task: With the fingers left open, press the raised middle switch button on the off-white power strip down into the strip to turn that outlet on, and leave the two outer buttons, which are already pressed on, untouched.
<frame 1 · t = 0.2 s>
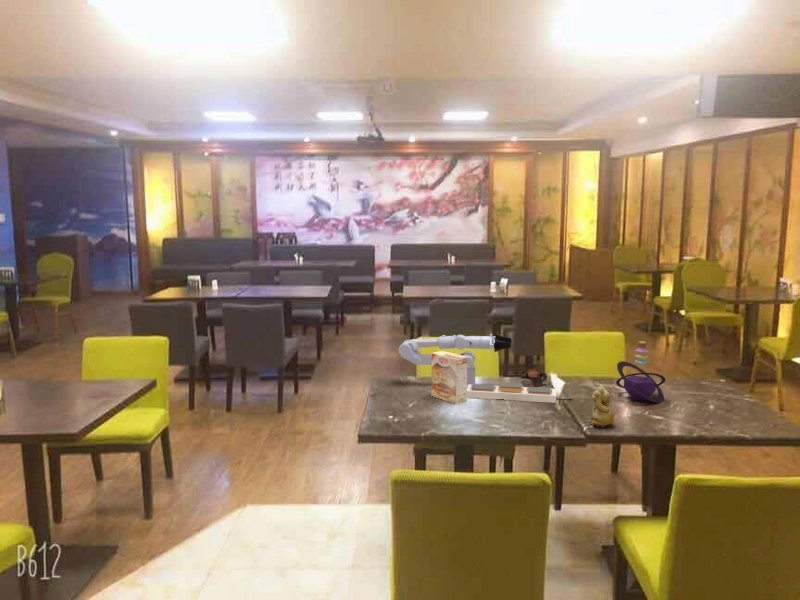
hand: (511, 342, 286), 21 cm above the table, tool horizontal, fingers open, 7 cm apart
brown grey irregular piece: (533, 384, 297), on the table
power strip: (510, 396, 277), on the table
left button: (483, 388, 279), point 3 cm above the table, slide at 1.5 cm
middle button: (510, 387, 277), point 4 cm above the table, slide at 0.0 cm
decorative bottle: (639, 399, 274), on the table
decorative figurine: (602, 425, 242), on the table
coffeecake box: (448, 399, 275), on the table
right button: (539, 391, 275), point 3 cm above the table, slide at 1.5 cm
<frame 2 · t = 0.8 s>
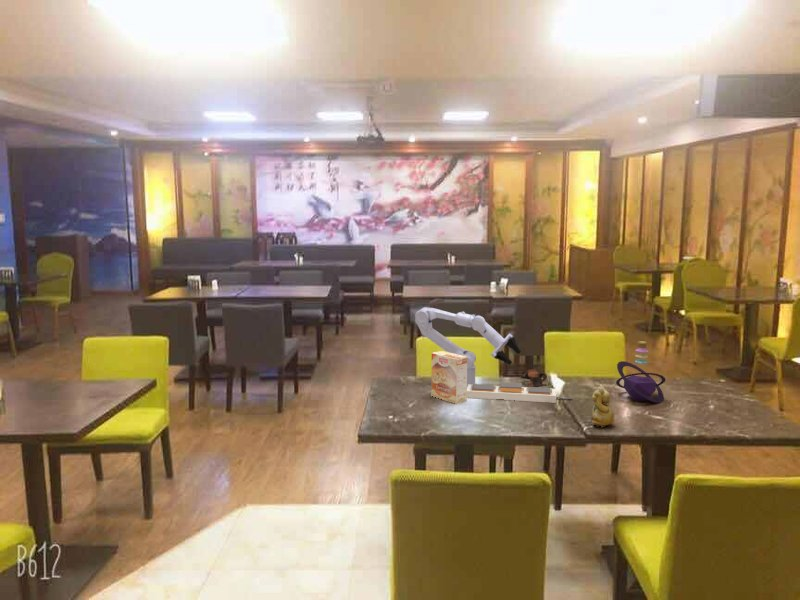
hand: (515, 358, 285), 15 cm above the table, tool tilted 50°, fingers open, 7 cm apart
nothing on the table moved.
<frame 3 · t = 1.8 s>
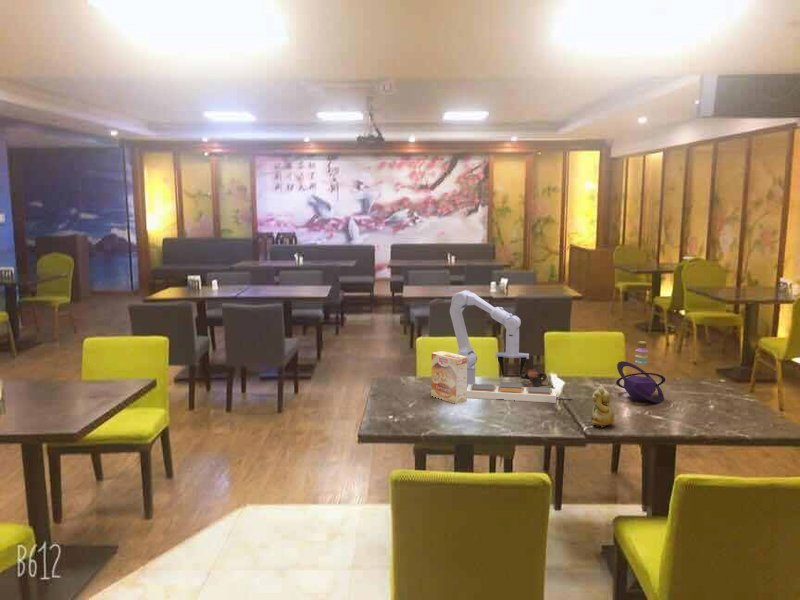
hand: (511, 373, 283), 8 cm above the table, tool pointing down, fingers open, 7 cm apart
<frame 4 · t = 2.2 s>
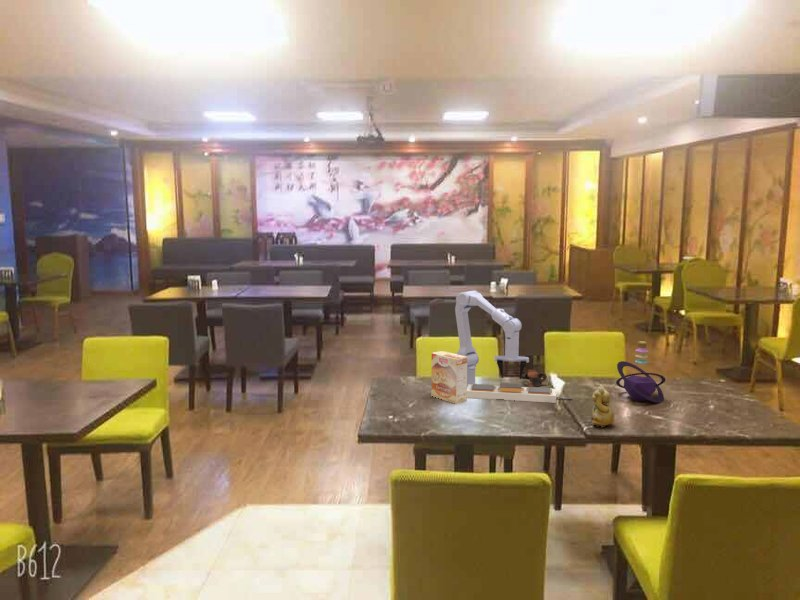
hand: (511, 377, 276), 8 cm above the table, tool pointing down, fingers open, 7 cm apart
nothing on the table moved.
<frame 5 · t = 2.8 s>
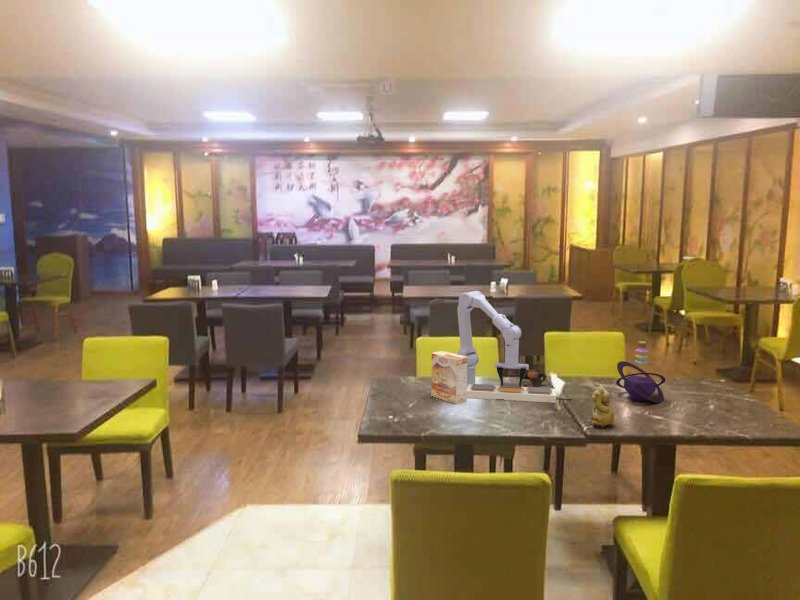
hand: (511, 384, 277), 5 cm above the table, tool pointing down
middle button: (510, 387, 277), point 4 cm above the table, slide at 0.0 cm, touching gripper
everything else where it was.
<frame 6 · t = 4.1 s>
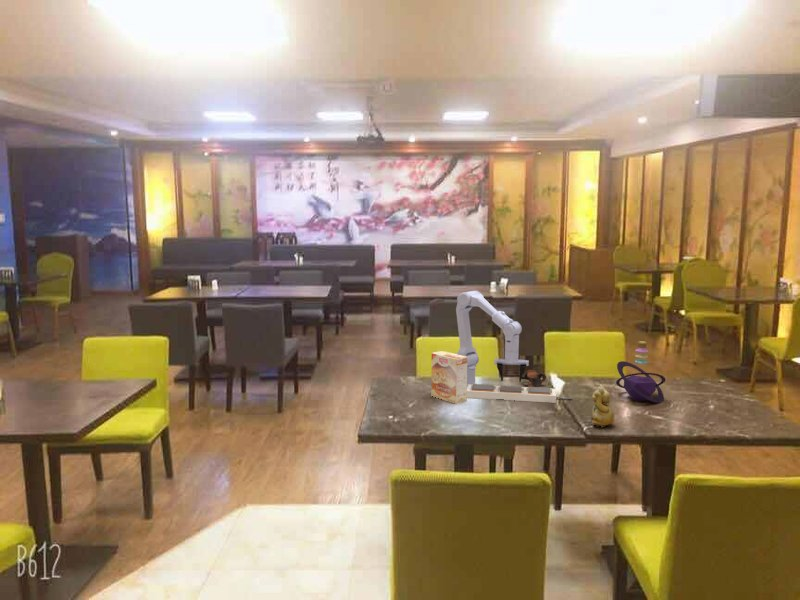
hand: (511, 380, 276), 7 cm above the table, tool pointing down, fingers open, 7 cm apart
middle button: (510, 390, 277), point 3 cm above the table, slide at 1.6 cm
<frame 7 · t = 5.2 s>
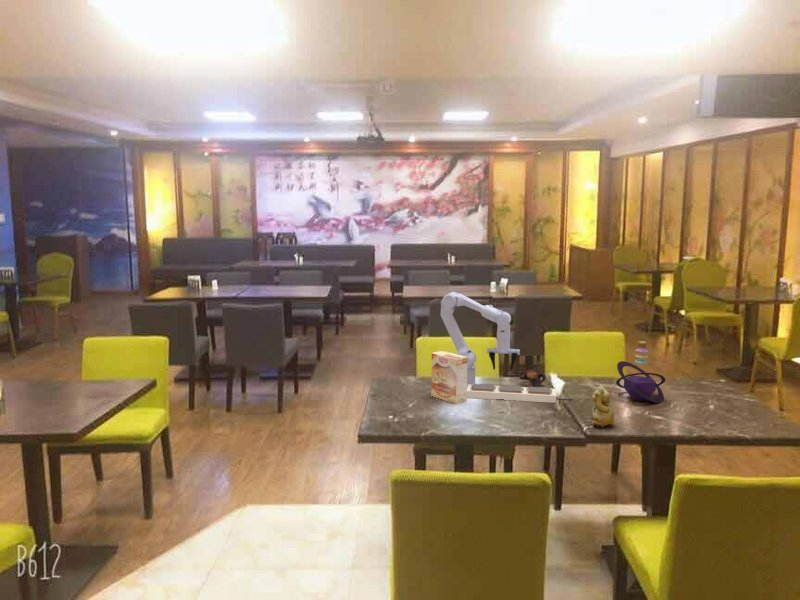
hand: (502, 369, 287), 9 cm above the table, tool pointing down, fingers open, 7 cm apart
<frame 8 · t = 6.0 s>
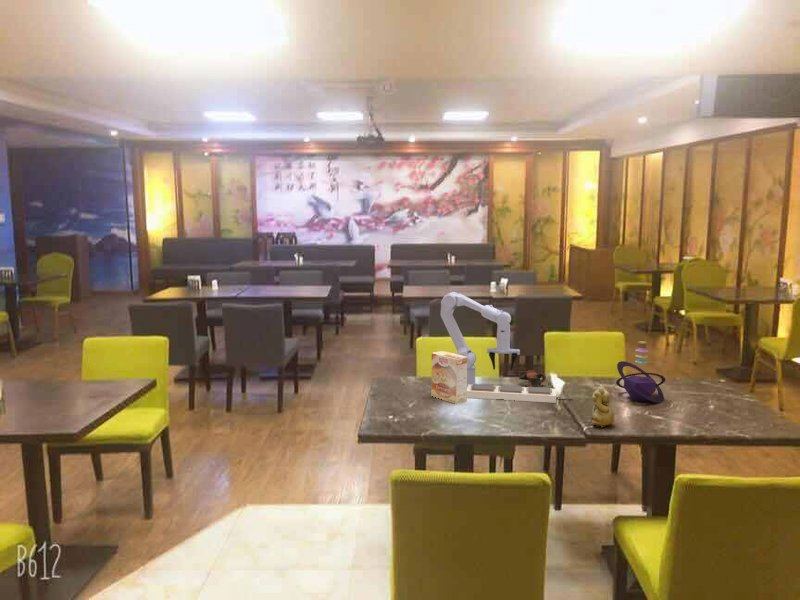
hand: (502, 369, 287), 9 cm above the table, tool pointing down, fingers open, 7 cm apart
at the end: middle button slide at 1.6 cm; left button slide at 1.5 cm; right button slide at 1.5 cm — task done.
